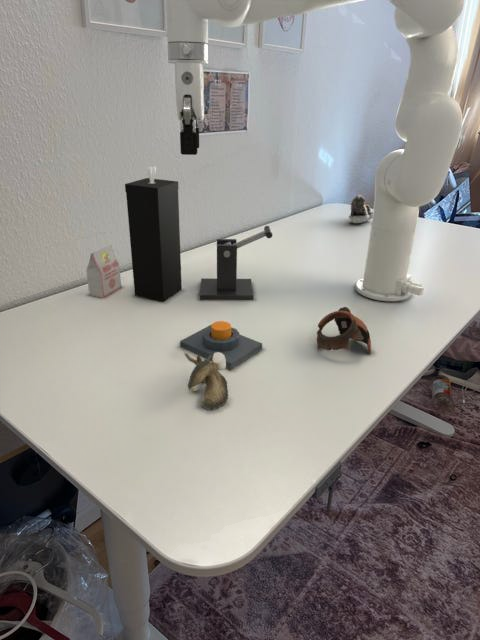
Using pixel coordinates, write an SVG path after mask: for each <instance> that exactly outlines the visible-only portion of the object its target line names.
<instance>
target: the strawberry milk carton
mask: <svg viewBox="0 0 480 640" xmlns="http://www.w3.org/2000/svg"><path fill="white" fill-rule="evenodd" d="M114 251H115V250H114V249H113V245H110V244H109V245H107V246H105V247H103V248H100V249H98V250H95V251H93V252H92V253H91V252H90V257H89V261H88V263H87V264H88V265H87V267H86V278H87V284H88V293H89V296H92V297H96V298H101V299H104V298H105V297H107V296H110V295H111V294H113V293H114V292H116V291H118V290H120V289H121V288H122V280H121V269H120V263H119V260H118V258H117V256H116V254H115V252H114Z"/></svg>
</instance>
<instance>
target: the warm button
mask: <svg viewBox="0 0 480 640" xmlns="http://www.w3.org/2000/svg"><path fill="white" fill-rule="evenodd" d="M211 324H212V325H211ZM211 324H210V325H211V336H212V338H214V339H220V340H224V339H228V338H230V337H231V327H232V324H231V323H230V322H228V321H224V320H218V321H214V322H213V323H211Z"/></svg>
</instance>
